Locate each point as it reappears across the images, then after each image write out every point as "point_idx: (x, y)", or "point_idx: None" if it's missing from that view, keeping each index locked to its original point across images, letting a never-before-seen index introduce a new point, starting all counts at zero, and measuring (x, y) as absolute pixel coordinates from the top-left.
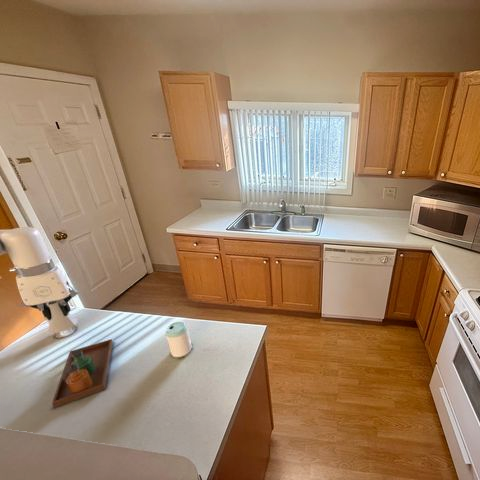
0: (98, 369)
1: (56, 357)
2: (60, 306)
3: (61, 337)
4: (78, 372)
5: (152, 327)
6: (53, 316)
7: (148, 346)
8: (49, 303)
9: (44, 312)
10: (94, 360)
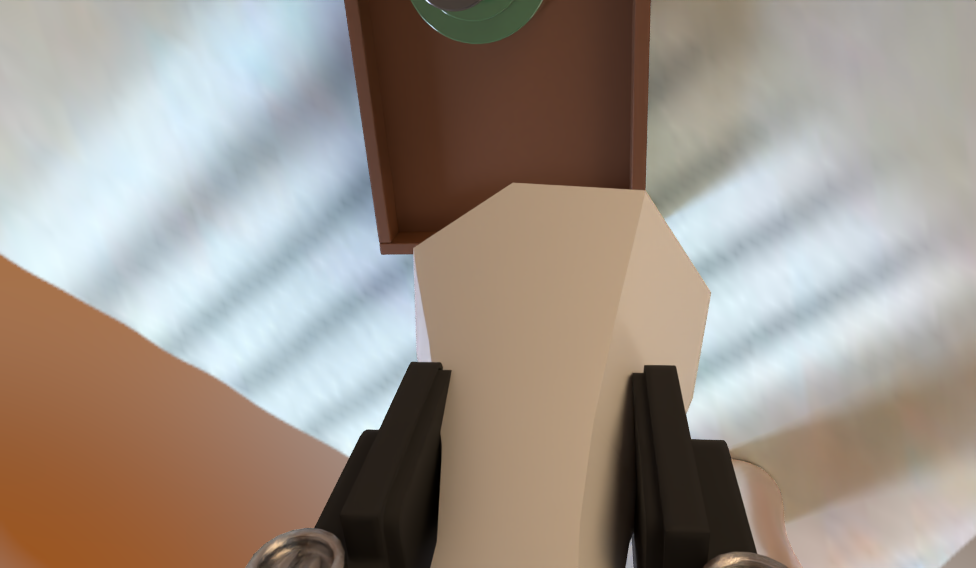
0: None
1: (739, 263)
2: (398, 540)
3: (740, 460)
4: None
5: (165, 284)
6: (580, 388)
7: (130, 75)
8: None
9: (699, 494)
10: (467, 83)
